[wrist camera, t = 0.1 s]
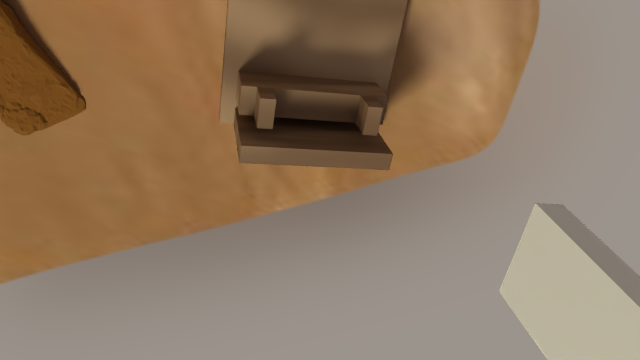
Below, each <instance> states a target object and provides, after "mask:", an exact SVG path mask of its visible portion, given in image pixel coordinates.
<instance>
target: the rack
mask: <svg viewBox="0 0 640 360" xmlns="http://www.w3.org/2000/svg"><path fill="white" fill-rule="evenodd" d="M407 2H408V0H228V4H227V17H226V31H225V44H224V58H223V72H222V85H221V99H220V112H219V122H220V123H225V124H234V130H235V136H236V143H237V150H238V157H239V163H253V164H274V165H294V166H315V167H336V168H357V169H377V170H389V169H390V164H391V160H392V156H393V153H392V152H391V150H390V149H389V147H388V146H387V144H386V143H385V142H384V140H383V139H382V137H381V136H380V134H379V133H378V131H379V127H380V124H381V125H382V124H383V120H384V115H385V111H386V106H387V102H388V97H387V91H388V86H389V82H390V78H391V73H392V69H393V64H394V60H395V55H396V51H397V46H398V42H399V37H400V33H401V28H402V24H403V19H404V15H405V11H406V6H407Z"/></svg>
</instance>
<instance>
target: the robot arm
mask: <svg viewBox="0 0 640 360" xmlns="http://www.w3.org/2000/svg"><path fill="white" fill-rule="evenodd" d="M499 292H500V293H501V295H502V296H503V298H504V299H505V300H506V302H507V303H508V305H509V306H510V307H511V309H512V310H513V312H514V313H515V314H516V316H517V317H518V319H519V320H520V322H521V323H522V324H523V326H524V327H525V329H526V330H527V331H528V333H529V334H530V336H531V337H532V339H533V340H534V341H535V343H536V344H537V346H538V347H539V348H540V350H541V351H542V353H543V354H544V355H545V357H546V358H547V360H640V276H639V275H638V274H636V273H635V272H634V271H633V270H632V269H631V268H630V267H629V266H628V265H627V264H626V263H625V262H624V261H623V260H622V259H620V258H619V257H618V256H617V255H616V254H615V253H614V252H613V251H612V250H611V249H610V248H609V247H608V246H606V245H605V244H604V243H603V242H602V241H601V240H600V239H599V238H598V237H597V236H596V235H595V234H594V233H593V232H591V231H590V230H589V229H588V228H587V227H586V226H585V225H584V224H583V223H582V222H581V221H580V220H579V219H578V218H576V217H575V216H574V215H573V214H572V213H571V212H570V211H569V210H568V209H567V208H566V207H565V206H564V205H560V204H539V203H536V204H535V206H534V208H533V211H532V213H531V216H530V218H529V221H528V223H527V225H526V228H525V230H524V233H523V235H522V237H521V240H520V242H519V245H518V247H517V250H516V252H515V254H514V257H513V260H512V262H511V264H510V267H509V269H508V271H507V274H506V276H505V279H504V281H503V283H502V286H501V288H500V291H499Z"/></svg>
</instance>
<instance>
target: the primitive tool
mask: <svg viewBox="0 0 640 360" xmlns="http://www.w3.org/2000/svg"><path fill="white" fill-rule="evenodd" d="M85 109H86V103H85V101H84V100H83V98H82V96H81V95H80V94H79V93H78V91H77V90H76V89H75V87H74V86H73V85H72V83H71V82H70V81H69V79H68V78H67V77H66V76H65V75H64V73H63V72H62V71H61V70H60V69H59V68H58V67H57V65H56V64H55V63H54V62H53V61H52V60H51V59H50V58H49V57H48V56H47V54H46V53H45V52H44V51H43V50H42V48H41V47H40V46H39V45H38V44H37V43H36V42H35V41H34V40H33V38H32V37H31V36H30V35H29V34H28V32H27V31H26V30H25V28H24V27H23V26H22V24H21V23H20V22H19V20H18V19H17V17H16V15H15V14H14V12H13V10H12V9H11V8H10V7H9V6H7V5H5V4H4V3H3V2H2V0H0V118H1V120H2V121H3V122H4V123H5V124H6V125H7V126H8V127H10V128H12V129H13V130H14V131H15V132H16V133H18V134H21V135H29V134H31V133H33V132H34V131H38V130H42V129H45V128H48V127H50V126H52V125H54V124H57V123H59V122H61V121H64V120H66V119H68V118H70V117H73V116H75V115H77V114H79V113H80V112H82V111H83V110H85Z"/></svg>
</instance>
